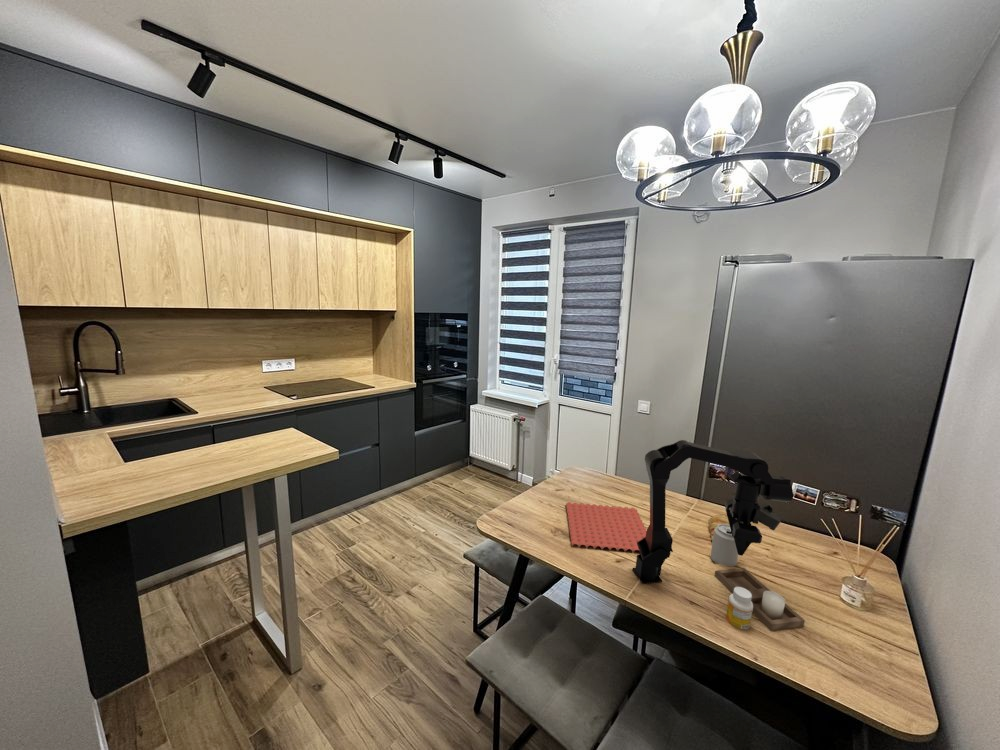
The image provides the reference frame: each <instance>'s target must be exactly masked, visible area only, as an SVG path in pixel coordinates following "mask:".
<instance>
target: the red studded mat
mask: <svg viewBox="0 0 1000 750" xmlns="http://www.w3.org/2000/svg"><path fill="white" fill-rule="evenodd" d="M565 507H566V508H565V509H566V516H567V523H568V530H569V539H570V544H571V547H572V548H573V546H574V545H577V549H578V548H579V549H580V548H581V546H585V548H586V549H588V548H589V546H591V547H592V548H593V550H596V548H597V547H600V550H602V551H603V550H604V548H608V551H611V550H612V549H613V548H615V549H616V552H619V551H620V549H622V550H623V551H624V553H627V551H628V550H631V551H632V552H631V553H632V554H634V552H635V551H639V549H638V545H637V542H639V541H640V540H642V539H643V538H645V537H646V532H647V528H646V527H645V525H644V524H645V523H643V519H641V516H640V514H639V512H638V508H637V509H636V508H635V507H631V508H629V507H628V506H625V507H622V506H617V507H616V506H615V505H612V506H609V505H607V504H606V505H602V504H599V505H597V504H590V503H586V504H584V503H582V502H581V503H577V502H574V503H572V502H569V501H568V502H566V503H565Z"/></svg>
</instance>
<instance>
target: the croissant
mask: <svg viewBox="0 0 1000 750" xmlns="http://www.w3.org/2000/svg"><path fill="white" fill-rule="evenodd" d="M719 524H727V525H729V521H728V517H727V514H715V515H713V516H711V517H709V518H708V520H707V525H708V530H709V535H710V539H711V541H712V542H713V536H714V529H715V528H716V527H717V526H718V525H719Z"/></svg>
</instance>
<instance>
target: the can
mask: <svg viewBox="0 0 1000 750" xmlns="http://www.w3.org/2000/svg"><path fill="white" fill-rule="evenodd" d="M709 556H710V558H711V560H712V561H713V562H714V563H715V564H716V565H722V566H725V567H735V566H736V565H737V564H738V558H739V555H738V553H737V549H736V545H735V541H734V537H733V536H732V532H731V529H730V525H727V524H719V525H718V526H717V527H716V528H715V529H714V536H713V541H712V543H711V550H710V555H709Z"/></svg>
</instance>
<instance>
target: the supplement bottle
mask: <svg viewBox="0 0 1000 750" xmlns="http://www.w3.org/2000/svg"><path fill="white" fill-rule="evenodd" d="M751 599H752V594H751V593H750V592H749V591H748V590H747V589H745V588H742V587H735V588H734V591H733V594H732V593H731V594H730V595H729V596H728V602H727V606H726V607H727V608H726V614H725V619H726V620H727V622H728V623H730V625H732V626H733V627H735V628H737V629H740V630H749V629H750V627H751V621H752V617H753V616H752V615H753V613H752V611H753V603H752V602H751Z"/></svg>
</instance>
